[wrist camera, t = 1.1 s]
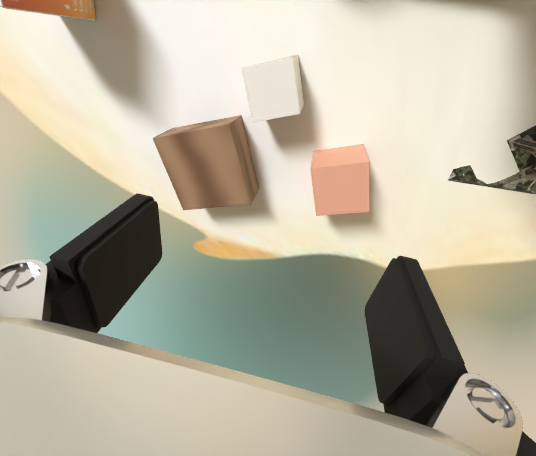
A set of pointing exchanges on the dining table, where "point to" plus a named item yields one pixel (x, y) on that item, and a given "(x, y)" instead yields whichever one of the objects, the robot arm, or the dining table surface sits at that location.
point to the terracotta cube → (340, 180)
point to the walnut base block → (209, 163)
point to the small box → (54, 7)
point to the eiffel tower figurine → (528, 161)
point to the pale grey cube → (274, 88)
